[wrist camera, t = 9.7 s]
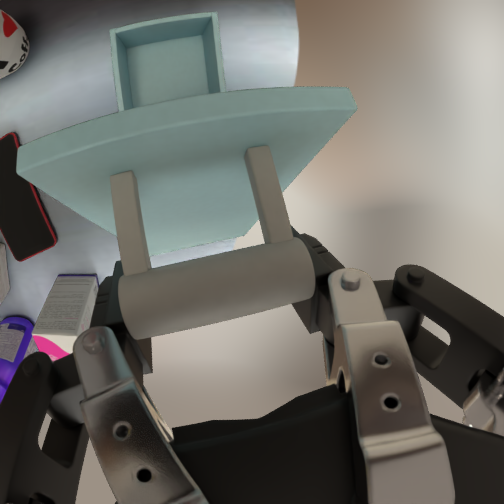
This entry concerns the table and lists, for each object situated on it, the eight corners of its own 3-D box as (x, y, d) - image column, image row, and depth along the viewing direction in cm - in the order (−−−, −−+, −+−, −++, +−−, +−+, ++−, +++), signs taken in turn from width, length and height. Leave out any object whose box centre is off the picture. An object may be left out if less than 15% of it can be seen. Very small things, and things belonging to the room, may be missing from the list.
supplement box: (56, 273, 32) (29, 332, 22) (97, 273, 34) (79, 334, 24) (65, 309, 35) (47, 370, 25) (104, 309, 36) (93, 373, 26)
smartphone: (12, 129, 22) (58, 244, 29) (16, 129, 23) (60, 241, 30) (-28, 159, 21) (17, 263, 29) (-24, 157, 22) (19, 260, 29)
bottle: (10, 341, 34) (-18, 427, 19) (-3, 314, 31) (-42, 401, 16) (44, 341, 36) (20, 435, 21) (31, 313, 33) (-4, 409, 18)
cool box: (122, 46, 23) (109, 29, 16) (205, 31, 24) (217, 11, 18) (152, 220, 33) (149, 250, 26) (227, 204, 35) (242, 229, 28)
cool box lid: (16, 146, 5) (40, 367, 5) (349, 86, 7) (411, 278, 7) (148, 248, 26) (160, 305, 26) (242, 227, 28) (256, 284, 27)
